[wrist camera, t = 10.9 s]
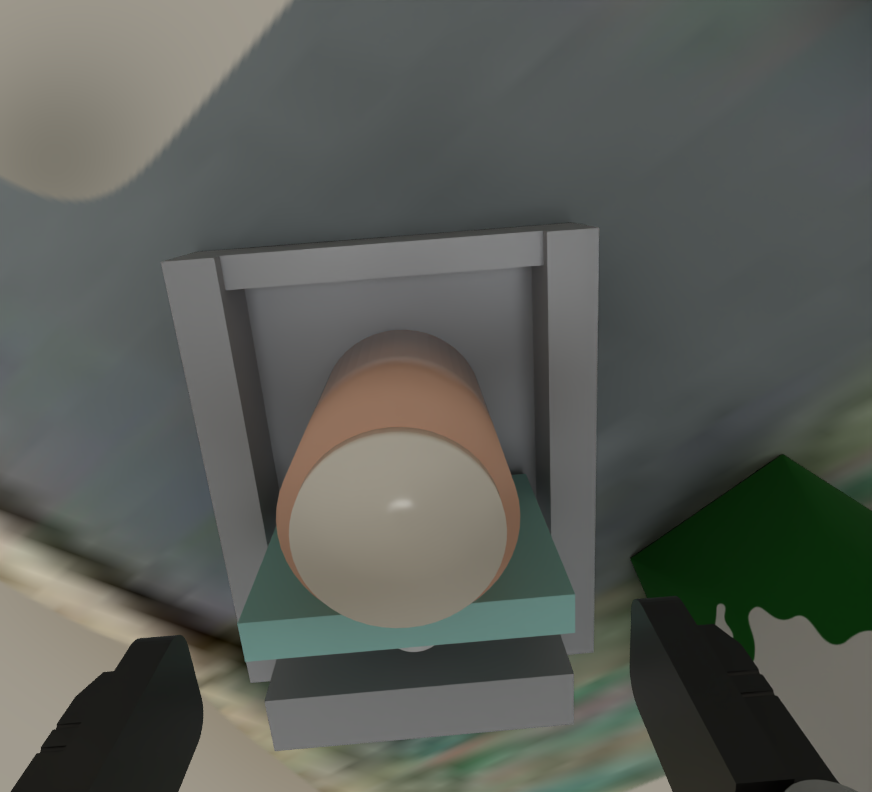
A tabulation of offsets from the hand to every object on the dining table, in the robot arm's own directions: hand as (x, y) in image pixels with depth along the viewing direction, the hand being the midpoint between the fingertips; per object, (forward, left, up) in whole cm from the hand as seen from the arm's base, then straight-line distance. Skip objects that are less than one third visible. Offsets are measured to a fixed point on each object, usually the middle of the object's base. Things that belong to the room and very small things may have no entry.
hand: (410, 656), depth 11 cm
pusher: (0, +4, -11) cm, 12 cm away
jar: (0, -1, -12) cm, 12 cm away
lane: (0, +1, -12) cm, 12 cm away
